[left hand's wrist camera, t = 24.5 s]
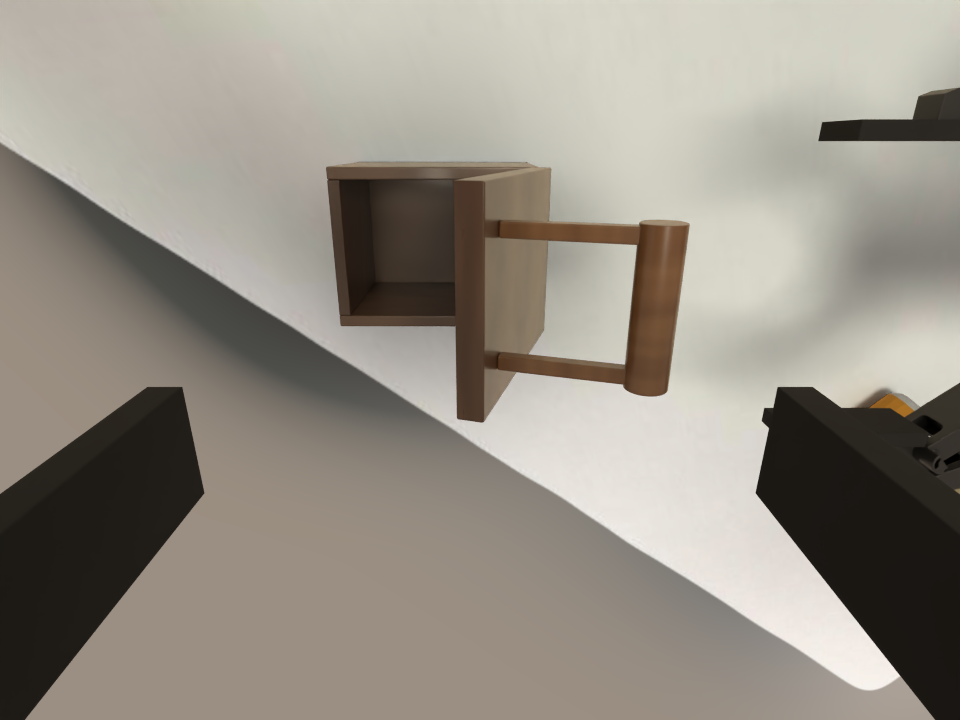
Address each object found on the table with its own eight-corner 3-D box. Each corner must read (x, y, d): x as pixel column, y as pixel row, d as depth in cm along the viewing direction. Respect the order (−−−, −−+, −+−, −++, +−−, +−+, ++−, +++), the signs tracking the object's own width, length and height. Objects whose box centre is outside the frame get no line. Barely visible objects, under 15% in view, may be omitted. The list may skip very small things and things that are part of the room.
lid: (456, 419, 24) (663, 449, 22) (452, 180, 21) (698, 184, 18) (525, 328, 36) (663, 341, 34) (530, 167, 33) (685, 169, 31)
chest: (368, 289, 46) (340, 326, 37) (359, 161, 43) (325, 166, 33) (522, 289, 47) (533, 326, 37) (526, 162, 43) (539, 166, 33)
